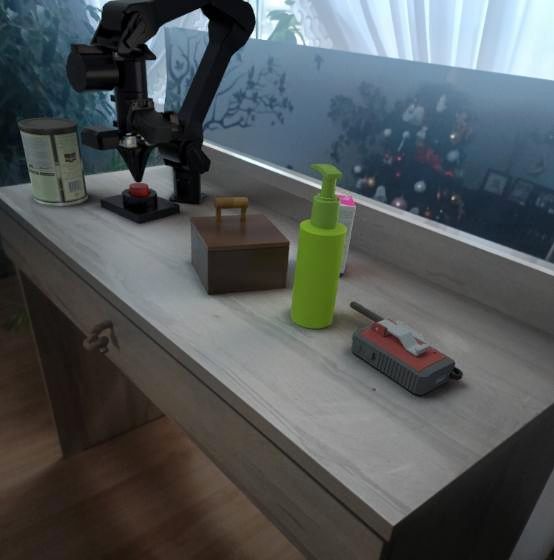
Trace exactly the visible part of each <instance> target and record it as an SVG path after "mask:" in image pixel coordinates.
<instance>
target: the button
mask: <svg viewBox="0 0 554 560" xmlns="http://www.w3.org/2000/svg"><path fill="white" fill-rule="evenodd" d="M128 189H130V195H134V196H146V195H149V189H150V188H149V184H147V183H146V182H145V183H144V182H139V183H137V182H132V183H130V184H129V185H128Z"/></svg>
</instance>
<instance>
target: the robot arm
mask: <svg viewBox="0 0 554 560" xmlns="http://www.w3.org/2000/svg"><path fill="white" fill-rule="evenodd" d="M101 9H102V11H101V14H100V20H99V23H98V25H97V27H96V29H95V31H94V34H93V36H92V37H91V41H90V42H89V44H84V43H79V42H71V43H70V52H69V53H68V56H67V58H66V65H65V72H66V77H67V79H68V82H69V84H70V87H71V88H72V89H73V90H74V92H76V93H78V94H88V93H89V94H90V93H102V92H103V93H105V92H112V91H113V94H109V98H110V102H112V103H114V104H115V105H114V106H115V114H116V119H113V120H112V127H114V128H117V129H113V128H110V127H107V126H103V125H101V124H99V125H91V126H90V125H89V126H83V127H82V130H81V131H80V135H79V136H80V141H81V145H83V146H86V147H89V148H92V149H94V150H97V151H109V150H117V152H118V154H119V155H120V157H121V158H122V159H123V161H124V163H125V166H126V167H127V169H128V171H129V173H130V175H131V177H132V178H133V180H134V183H143V179H144V175H145V171H146V167H147V164H148V161H149V158H150V155H151V153H152V152H153V151H154V150H155V149H156V148H157V149H158V150H157V151H158V154H159V155H160V156H161V158H162V161H163V164H164V166H165V167H170V168H172V184H173V186H172V187H173V193H172V194H171V195H170V197H168V200H169V201H171V202H174V203H185V204H195V205H200V204H201V202H202V201H203V200H204V198H205V197H206V193H205V192H202V175H204V174H205V173H208V172H209V171H210V168H211V164H212V161H211V159H210V158H209V157H208V156H207V154H206V153H205V152H204V151H203V145H204V141H205V140H204V139H205V138H204V128H203V127H204V126H203V125H204V122H205V121H206V117H207V115H208V113H209V111H210V107H211V106H212V104H213V102H214V99H215V97H216V94H217V92H218V89H219V87H220V85H221V82H222V81H223V79H224V75H225V73H226V72H227V71H226V70H227V69H228V66H229V64H230V62H231V60H232V57H233V56H234V55H235V54H236V53H237V52H238V51H240V50H241V49H242V48H243V47H245V46H246V45H247V43H248V41H249V39H250V37H251V36H252V34H253V32H254V31H255V28H256V23H257V20H256V14H255V10H254V8H253V6H252V4H251V3H250V2H249V1H246V0H108V1H107V2H105V3H104V4H103V6H102V8H101ZM199 9H200V11H201V13H202V15H203V16H204V17H205V18H206V19H207V20H208V23H207V34H208V35H207V36H208V42H207V45H206V48H205V50H204V52H203V55H202V57H201V59H200V62H199V64H198V67H197V68H196V71H195V74H194V76H193V78H192V81H191V82H190V86H189V88H188V90H187V92H186V94H185V98H184V99H183V102H182V104H181V107H180V109H179V111H178V112H176V111H175V110H174V109H171V110H165V111H164V112H163V111H157V110H156V107H155V101H154V98H152V97H150V96H149V90H148V89H149V87H148V72H147V61H156V60H157V59H158V58H157V56H156V54H155V53H154V52H153V51H152V50H151V49H150V48H149V46H148V44H147V42H148V41H150V40H151V39H152V38H154V37H155V36H156V35H157V34H158V32H159V30H160V28H161V27H163V26H164V25H166V24H167V23H170V22H173V21H174V20H178V19H179V18H182V17H184V16H186V15H188V14H190V13H193V12H195V11H198V10H199Z"/></svg>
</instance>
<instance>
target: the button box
mask: <svg viewBox="0 0 554 560" xmlns="http://www.w3.org/2000/svg"><path fill="white" fill-rule="evenodd" d="M99 201H100V207H101V208H102V209H104V210H107V211H109V212H111V213H113V214H116V215H117V216H120V217H123V218H124V219H127V220H129V221H131V222H133V223H136V224H138V225H141V224H145V223H149V222H152V221H156V220H160V219H163V218H168V217H172V216H174V215H179V214H181V204H178V203H177V202H174V201H169V199H165V198H163V197H160V196H159V195H158V192H157V190H155V189H152V188H149V195H146V196H134V195H130V189H129V188H125V189H124V190H122V191H121V194H116V195H112V196H107V197H102V198H100V199H99Z"/></svg>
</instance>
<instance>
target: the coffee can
mask: <svg viewBox="0 0 554 560" xmlns="http://www.w3.org/2000/svg"><path fill="white" fill-rule="evenodd" d="M17 126H18V128H19V131H20V137H21V141H22V146H23V151H24V155H25V160H26V165H27V170H28V175H29V179H30V184H31V189H32V194H33V200H34V202H35V203H38V204H39V205H42V206H47V207H70V206H76V205H80V204H83V203H84V202H86V201H87V200H88V199H89V196H88V192H87V185H86V179H85V178H86V177H85V171H84V165H83V157H82V150H81V143H80V135H79V123H78V122H77V121H75V120H73V119H71V118H63V117H30V118H24V119H22V120H20V121H18V122H17Z"/></svg>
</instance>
